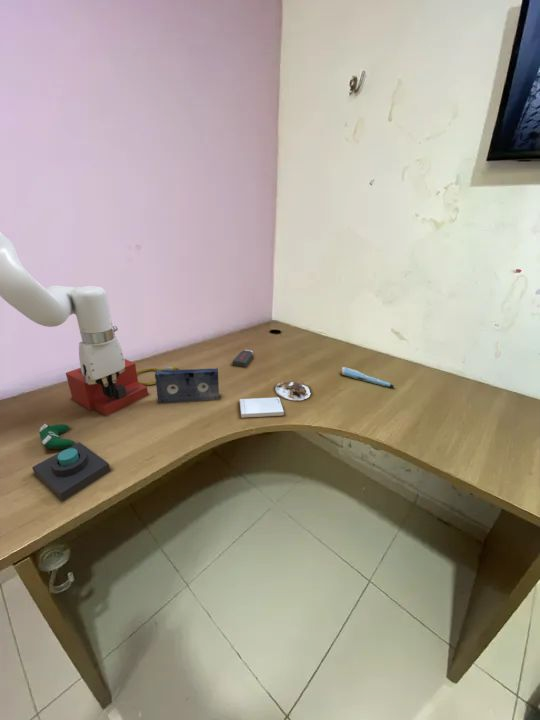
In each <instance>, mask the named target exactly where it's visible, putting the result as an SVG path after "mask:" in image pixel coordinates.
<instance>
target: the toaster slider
mask: <svg viewBox="0 0 540 720" xmlns="http://www.w3.org/2000/svg"><path fill="white" fill-rule="evenodd" d="M125 396H127V394H126V389H125V386H123V385H121V384H120V385H118V386H116V396H115V397H117V398H119V399H120V398H122V397H125Z"/></svg>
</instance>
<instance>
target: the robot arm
mask: <svg viewBox="0 0 540 720" xmlns="http://www.w3.org/2000/svg"><path fill="white" fill-rule="evenodd" d="M0 297H1V298H2V299H3V300H4V301H5V302H6V303H7V304H8V305H10V306H11V307H13V308H14V309H15V310H16V311H18V312H19V313H20V314H22V315H23V316H24V317H26V318H27V319H28V320H30V321H32V322H34V324H35V323H36V324H37V325H39V326H42V327H48V328H53V327H54V328H55V327H58V326H61V325H62V324H64V323H65V322H66V321H67V320H68V318H69V317H70V316H72V315H75V318H76V320H77V321H76V322H77V325H78V329H79V334H80V337H81V341H80V342H79V343H78V357H79V366H80V368H81V371H82V374H83V376H86V383H87V384H89V385H92V384H96V383H98V384H100V385H102V390H103V394H104V395H105V396H107V397H109V398H113V397H115V396H116V386H115V383H116V381H117V378H118V376H119V374H121V373H122V372H124V371H125V361H124V359H125V356H124V352H123V349H122V346H121V344H120V342H119V339H118V337H117V336H116V334H115V333H116V332H117V331H118V326H116V325H113V322H112V316H111V311H110V305H109V300H108V294H107V291H106V290H105V289H104V288H103V287H102V286H97V285H83V286H79V287H77V286H67V285H49V286H47V287H46V286H43V285H42V284H41V283H39V281H37V280H36V279H35V278H34V276H32V274H30V272H28V271H27V270H26V268H25V267H24V265H23V264H22V263H21V260H20V259H19V256H18V253H17V249H16V246H15V245H14V243H13V242H12V241H11V239H9V238H8V237H7V236H6V235H4V234H3V232H1V231H0ZM106 376H107V379H106Z"/></svg>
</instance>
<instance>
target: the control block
mask: <svg viewBox="0 0 540 720" xmlns="http://www.w3.org/2000/svg"><path fill="white" fill-rule="evenodd" d="M70 448H74V449H76V450H77V452H78V455H79V459H78V461H77V462H75V463H73V464H72V465H68V466H61V465H60V464H59V461H58V454H59V453H60V452H58V453H56V454H54V455H52V456H50V457H48V458H46V459H44V460H43V461H41V462H39V463H37V464H35V465H33V466H31V468H32V472H33V474H34V476H36V478H37V479H39V480H40V481H41V483H43V484H44V485H45V486H46V487H47V488H48V489H49V490H50V491H51V492H52V493H54V495H55V496H57V498H58V499H59V500H61V501H62V502H65V501H66V500H68V499H69V498H71V497H72V496H74V495H75V494H77V493H78V492H80V491H81V490H83V489H84V488H86V487H87V486H89V485H91V484H92V483H93V482H96V481H98V479H101V478H102V477H103V476H104V475H107V474H108V473H109V472H111V468H110V464H109V462H107V461H106V460H105V459H104V458H103V457H101V456H99V455H98V454H97V453H96V452H94V451H92V450H91V449H90V448H88V447H87V446H86V445H85V444H83V443H81V441H79V442H77V443H74V445H73V446H71V447H69V448H66V449H70Z"/></svg>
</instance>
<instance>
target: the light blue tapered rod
mask: <svg viewBox="0 0 540 720" xmlns="http://www.w3.org/2000/svg"><path fill="white" fill-rule="evenodd" d="M341 376H344V377H348V378H352V379H354V380H359V381H362V382H368V383H371V384H374V385H378V386H383V387H387V388H395V385H394V384H391V383H390V382H388V381H385V380H381V379H379V378H376V377H373V376H370V375H367V374H365V373H363V372H360V371H359V370H356V369H353V368H349V367H346V366H342V367H341Z"/></svg>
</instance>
